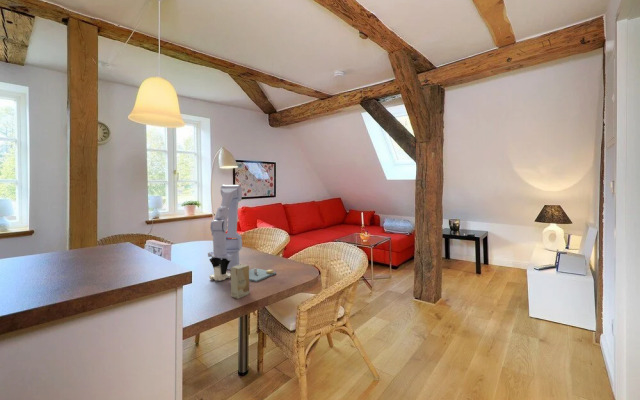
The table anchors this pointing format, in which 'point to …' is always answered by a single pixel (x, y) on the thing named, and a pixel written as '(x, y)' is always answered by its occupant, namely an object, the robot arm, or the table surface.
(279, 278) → the table surface
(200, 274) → the table surface
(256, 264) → the table surface
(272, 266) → the table surface
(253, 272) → the carrier plate
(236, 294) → the skincare box
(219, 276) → the gear
